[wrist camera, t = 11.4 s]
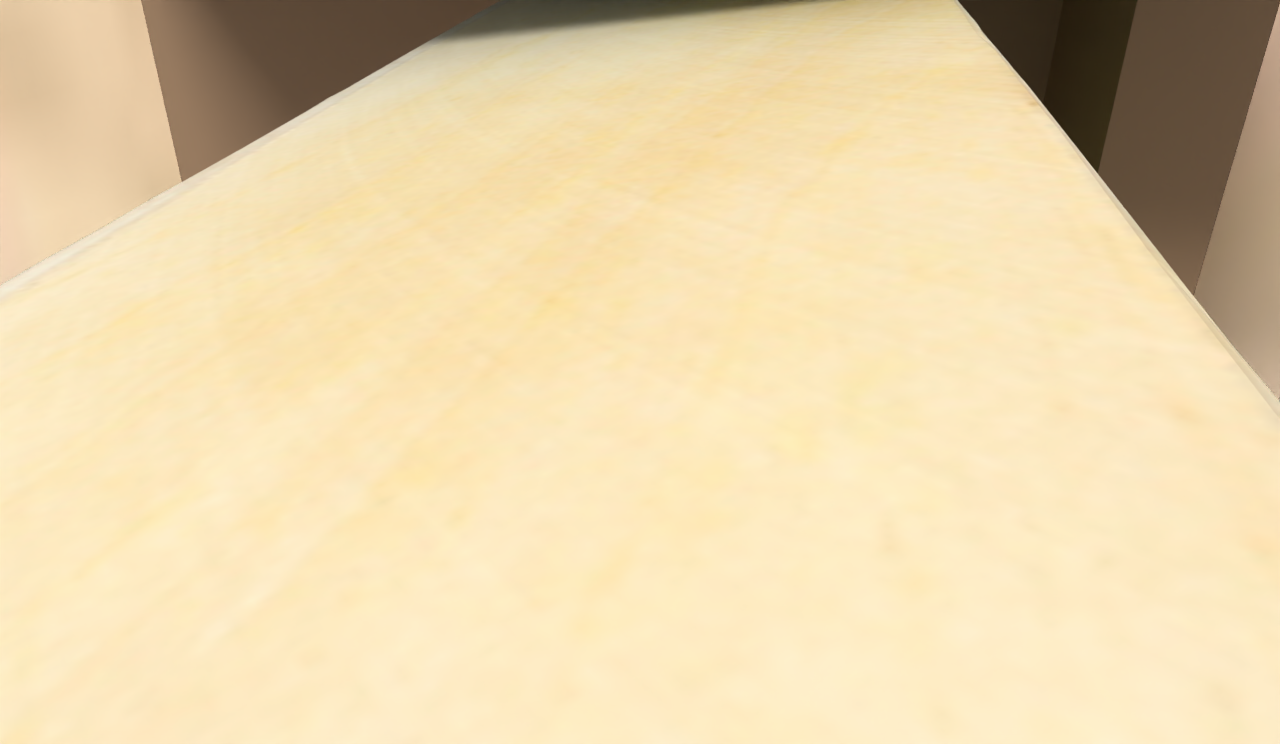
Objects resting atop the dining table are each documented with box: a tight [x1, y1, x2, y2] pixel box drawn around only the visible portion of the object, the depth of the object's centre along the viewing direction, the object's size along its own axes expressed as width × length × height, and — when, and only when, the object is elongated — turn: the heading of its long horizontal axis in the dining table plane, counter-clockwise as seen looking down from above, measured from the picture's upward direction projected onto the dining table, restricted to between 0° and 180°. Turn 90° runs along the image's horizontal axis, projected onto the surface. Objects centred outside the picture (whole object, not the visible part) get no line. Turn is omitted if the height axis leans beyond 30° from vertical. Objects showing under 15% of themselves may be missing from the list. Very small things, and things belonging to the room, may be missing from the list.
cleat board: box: [141, 0, 1280, 295], centre depth 18 cm, size 22×12×12 cm, turn 90°
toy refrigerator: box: [0, 0, 1280, 744], centre depth 13 cm, size 8×7×21 cm
